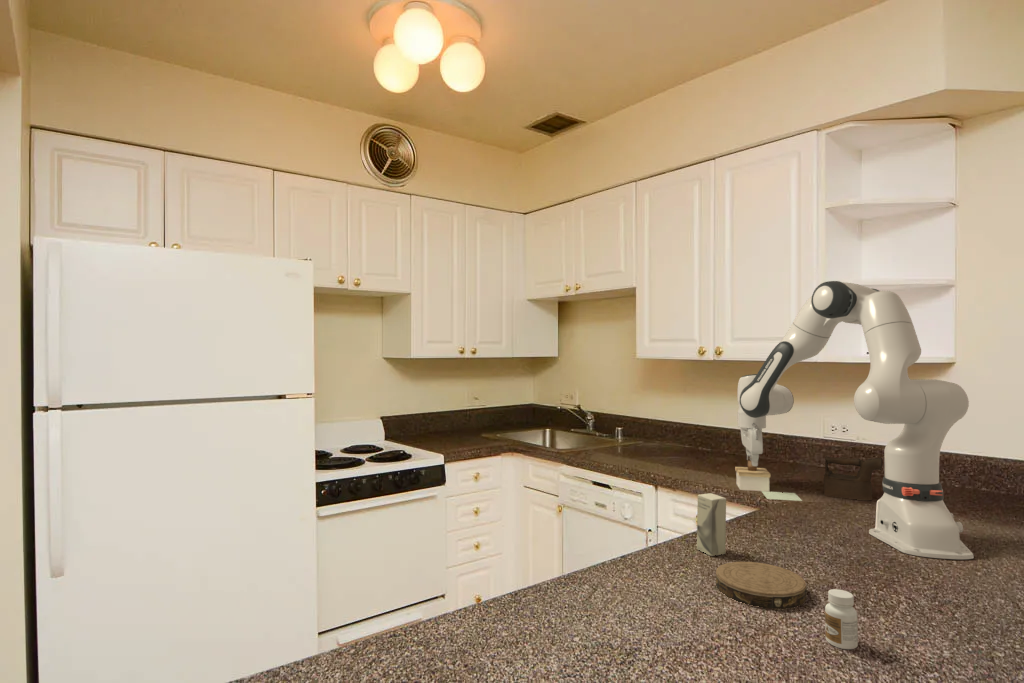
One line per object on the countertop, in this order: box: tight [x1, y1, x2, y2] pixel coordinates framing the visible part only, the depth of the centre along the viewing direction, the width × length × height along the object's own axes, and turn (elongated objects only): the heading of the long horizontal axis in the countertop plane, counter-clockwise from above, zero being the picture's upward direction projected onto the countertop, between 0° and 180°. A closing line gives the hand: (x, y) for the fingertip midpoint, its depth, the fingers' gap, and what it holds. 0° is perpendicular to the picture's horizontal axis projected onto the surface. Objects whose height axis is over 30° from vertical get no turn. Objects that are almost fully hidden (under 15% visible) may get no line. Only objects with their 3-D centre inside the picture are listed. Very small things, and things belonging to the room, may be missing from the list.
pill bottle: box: [824, 588, 859, 650], centre depth 89 cm, size 4×4×8 cm
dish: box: [735, 471, 770, 492], centre depth 191 cm, size 9×9×5 cm
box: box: [696, 492, 727, 557], centre depth 130 cm, size 5×4×13 cm
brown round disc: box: [715, 561, 807, 610], centre depth 109 cm, size 16×16×3 cm
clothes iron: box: [823, 455, 884, 501], centre depth 179 cm, size 8×16×13 cm, turn 51°
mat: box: [761, 491, 803, 502], centre depth 179 cm, size 10×10×1 cm
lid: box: [734, 460, 771, 478], centre depth 191 cm, size 10×10×4 cm
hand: (752, 463), depth 191 cm, fingers open, 8 cm apart
